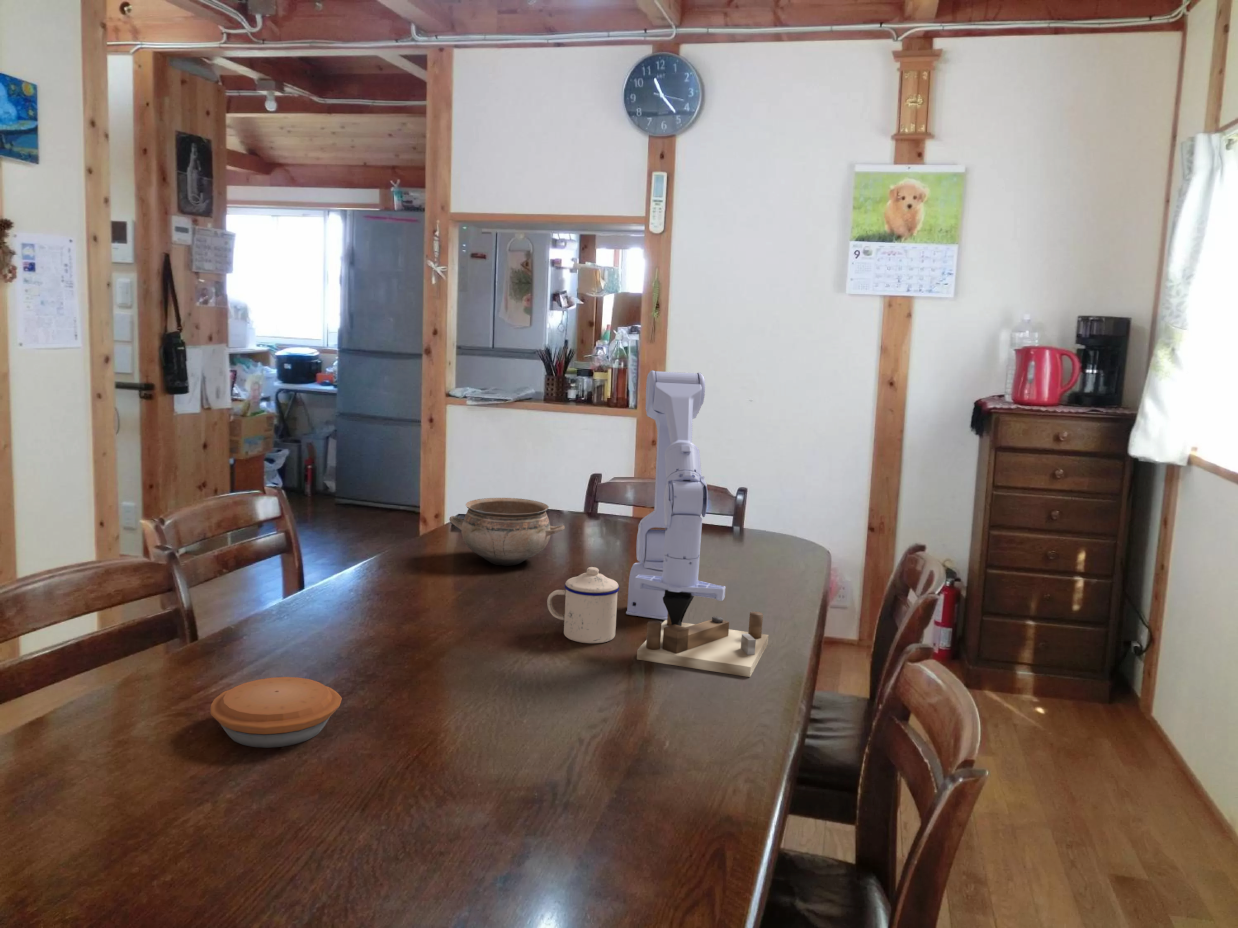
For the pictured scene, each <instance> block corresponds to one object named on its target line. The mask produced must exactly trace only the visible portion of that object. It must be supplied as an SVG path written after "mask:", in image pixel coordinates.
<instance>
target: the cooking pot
mask: <svg viewBox="0 0 1238 928" xmlns="http://www.w3.org/2000/svg"><path fill="white" fill-rule="evenodd" d="M465 506H466V508H467V511H466V513H465V516H464V518H460V517H458V516H455V515H451V516H450V517H449V522H450V523H451V524H452V525H453V526H455V527H456V528H458V529H459V530H460V531H461V536H462V540H463V542H464V544H465V545H466V547H467V548H468V549H470V550H471V551H472V552H473V553H474V554H476V555H478V556H480V557H481V558H482V559H484V560H486V561H487V562H489V563H490V564H492V565H496V566H516V565H520V564H521V563H523V562H525V561H527V560H529V559H531V558H533V557H534V556H536V555H537V554H539V553H540V552H542V551H543V550H544V549H545V548H546V547H547V545H548V543H549V541H550V539H551V536H552V535H554V534H558V533H560V532H562V531H563V530H565V528H566V527H565V525H564V524H561V525H557V526H553V525H551V523H550V519H549V517H548V514H547V511H548V510H549V507H550V506H549V505H548V504H546V503H544V502H541V501H538V500H533V499H526V498H515V497H486V498H477V499H473V500H470V501H468V502H466V503H465Z"/></svg>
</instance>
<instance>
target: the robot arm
mask: <svg viewBox="0 0 1238 928" xmlns="http://www.w3.org/2000/svg"><path fill="white" fill-rule="evenodd" d="M645 387H646V388H645V412H646V417H649V418H651V419H652V420H654V421H655V427H656V430H657V435H656V437H657V439H656V458H655V459H656V462H655V482H654V483H655V485H654V486H655V487H654V488H655V489H654V507H653V508H654V510H653V511H651V512H650V513H648V514H646V516H644V517H643V518H642V519H641V520H640V521H639V523H638V527H637V529H638V531H637V534H636V546H635V547H636V550H635V551H636V554H635V555H636V560H637V562H635V563H633V564H632V566H631V568H630V571H629V577H628V592H627V610H626V611H625V614H626V615H629V616H638V617H643V618H651V619H656V620H663V621H665V620H667V615H668V614H669V617H670V620H671V624H672V625H674V624H676V625H679V626H682V623H683V620H684V617H685V615H686V613H687V611H688V609H689V606H690V604H691V603H692V601H693V599H694V597H701V598H707V599H714V600H716V601H721V602H723V600H724V599H725V597H726V586H725V585H720V584H719V585H718V584H714V583H710V582H705V581H701V580H699V571H700V558H701V556H700V555H701V554H700V553H701V541H702V527H703V518H705V517H706V515H707V510H708V503H709V491H708V484H707V482H706V479H705V476H703V475H702V467H701V466H702V465H701V464H702V463H701V453H700V449H699V447H698V446H697V445H696V444H695V443H693V420H694V419H696V418H697V415H698V414H700V411H701V408H702V407H703V404H704V402H705V395H706V394H705V393H706V380H705V377H704V375H703V374H702V373H701V372H696V373H695V372H678V371H677V372H676V371H657V370H656V371H655V370H650V371H649V372H648V373H647V376H646V385H645ZM701 516H702V517H701ZM654 528H659V529H654ZM661 528H664V529H661Z"/></svg>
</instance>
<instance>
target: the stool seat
mask: <svg viewBox="0 0 1238 928" xmlns="http://www.w3.org/2000/svg"><path fill="white" fill-rule="evenodd" d="M763 619H764V614H763V612H760V611H750V612H749V620H748V631H743V630H737V629H730V628H729V633H728V636H727V637H724V638H721V639H718V640H715V641H712V642H709V643H706V644H703V645H700V646H697V647H694V648H691V649H689V650H686V651H683V652H680V653H677V654H676V653H673V652H670V651H667V650H664V649H662V648H663V632H664V627H668V626H671V625H672V624H671V620H670V617H669V614H668V615H667V620H663V622H661V621H656V620H655V621H654V620H651V621H648V622H647V623H646V625H647V629H646V640H645V641H644V642H643V643H642V644H641V645H640V646H639V647H638V648H637V650H636V651H637V653H636V660H640V661H645V662H650V663H651V662H652V663H658V664H664V665H672V666H679V667H684V668H691V669H694V670H695V669H696V670H701V671H710V672H716V673H722V674H727V675H728V674H729V675H735V676H741V677H746V678H751V676H752V674H753V673H754V671H755V669H756V667H757V665H758V663H759V662H760V659H761V657H762V656H763V654H764V652H765V650H766V648H767V647H768V644H769V636H770V635H769V634H765V633H764V634H763V621H764V620H763ZM695 624H696V623H695ZM695 624H694V623H689V622H682V627H689V626H692V625H695Z"/></svg>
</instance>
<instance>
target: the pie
mask: <svg viewBox="0 0 1238 928" xmlns="http://www.w3.org/2000/svg"><path fill="white" fill-rule="evenodd" d="M342 699H343V698H342V696H341V695H340V693H338V692H337V690H335V689H333V688H332V687H330V686H326V685H325V684H323V683H322V682H319V681H316V680H313V679H310V678H306V677H305V678H303V677H296V676H295V677H291V676H280V677H279V676H277V677H267V678H261V679H255V680H252V681H247V682H244V683H241V684H239V685H236V686H234V687H231V689H228V690H224V691H222V692H221V693H220V694H219V695H217V696H216V697H215V698H214V699H213V701H212V703H211V704H210V715H211V716H212V717H213V718H214V720H215V721H217V722H218V723H219V725H220V726H221V728H223V730H224V731H225V733H226V734H227V736H228V737H229V738H231V740H233V742H235V743H238V744H240V745H243V746H247V747H253V748H263V749H264V748H267V749H269V748H282V747H288V746H295V745H298V744H302V743H304V742H306V741H308V740H310V739H312V738H314V737H316V736H317V735H318V734H320V732H321V731H322V730H323V729H324V728H325V726H326V725H327V723H328V722H329V720H330V717H331V716H333V714H334V713H335V712H336V711H337V710H338V709H339V708H340V705H341V703H342Z"/></svg>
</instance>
